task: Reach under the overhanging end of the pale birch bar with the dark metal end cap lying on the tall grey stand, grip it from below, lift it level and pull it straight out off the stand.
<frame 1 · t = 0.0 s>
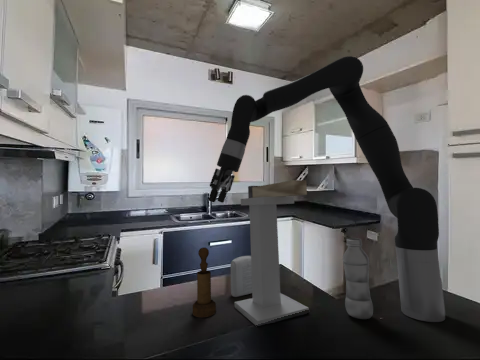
hand: (216, 201, 82), 31 cm above the worktop, tool tilted 20°, fingers open, 8 cm apart
birch bar: (274, 197, 70), point 32 cm above the worktop, touching stand
stand: (270, 310, 70), on the worktop
plastic bottle: (359, 317, 64), on the worktop
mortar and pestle: (204, 313, 70), on the worktop
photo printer: (245, 294, 84), on the worktop
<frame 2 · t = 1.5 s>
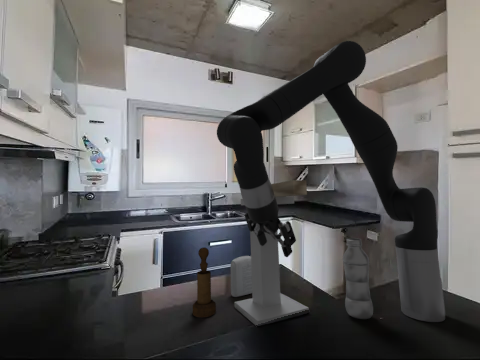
hand: (275, 249, 65), 18 cm above the worktop, tool tilted 35°, fingers open, 8 cm apart
nothing on the worktop moved.
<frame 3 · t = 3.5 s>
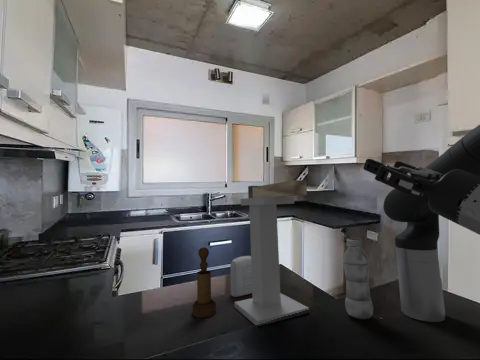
hand: (380, 164, 48), 37 cm above the worktop, tool pointing upward, fingers open, 8 cm apart
nothing on the worktop moved.
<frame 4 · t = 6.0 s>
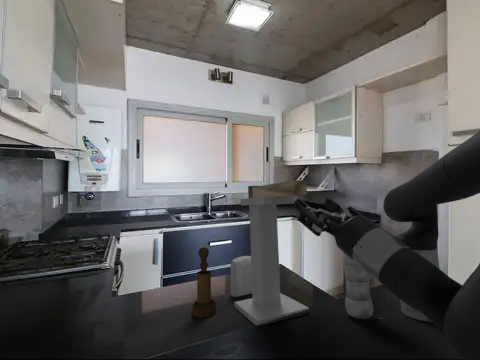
hand: (311, 202, 56), 30 cm above the worktop, tool pointing upward, fingers open, 8 cm apart
nothing on the worktop moved.
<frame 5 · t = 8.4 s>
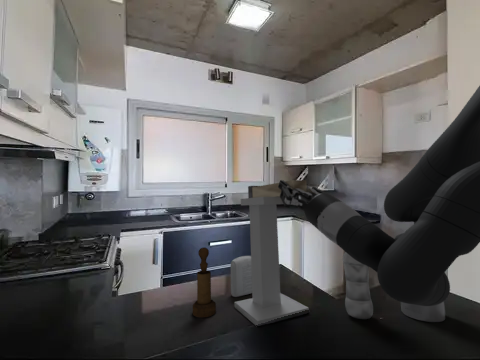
hand: (287, 183, 64), 35 cm above the worktop, tool pointing upward, fingers closed on birch bar, 4 cm apart
birch bar: (274, 197, 70), point 32 cm above the worktop, touching gripper, stand
everything else where it was.
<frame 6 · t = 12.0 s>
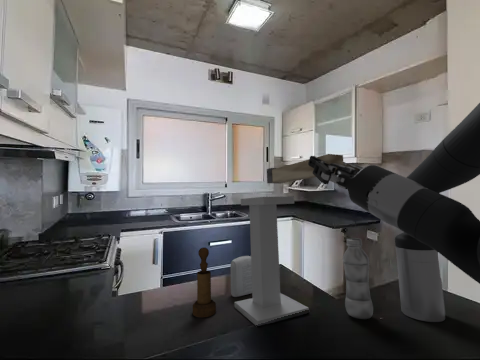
hand: (318, 160, 54), 39 cm above the worktop, tool pointing upward, fingers closed on birch bar, 4 cm apart
birch bar: (300, 178, 60), point 36 cm above the worktop, touching gripper
everything else where it was.
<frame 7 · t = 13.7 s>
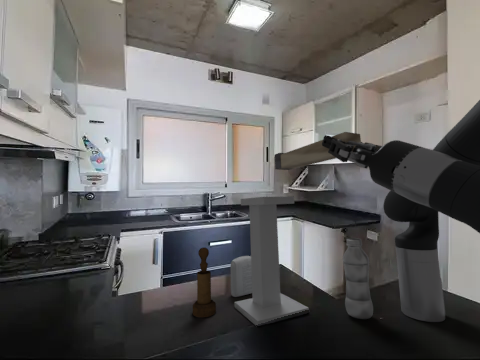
hand: (332, 141, 50), 42 cm above the worktop, tool pointing upward, fingers closed on birch bar, 4 cm apart
birch bar: (311, 162, 56), point 39 cm above the worktop, touching gripper
everything else where it was.
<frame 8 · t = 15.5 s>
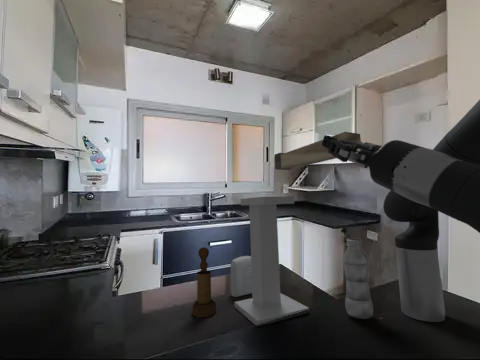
hand: (332, 141, 50), 42 cm above the worktop, tool pointing upward, fingers closed on birch bar, 4 cm apart
birch bar: (311, 162, 56), point 39 cm above the worktop, touching gripper
everything else where it was.
at the end: the gripper is holding birch bar; birch bar moved 17.5 cm from its start; birch bar touching gripper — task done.
